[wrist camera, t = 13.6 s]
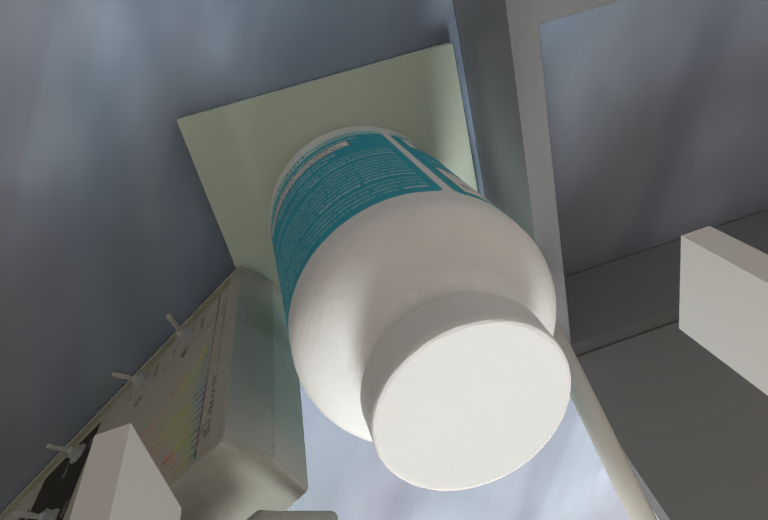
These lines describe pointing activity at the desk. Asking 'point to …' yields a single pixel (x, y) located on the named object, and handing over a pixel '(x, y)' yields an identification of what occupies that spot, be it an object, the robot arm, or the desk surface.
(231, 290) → the geiger counter
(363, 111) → the mat
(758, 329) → the robot arm
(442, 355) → the pill bottle
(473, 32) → the case
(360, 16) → the desk surface
